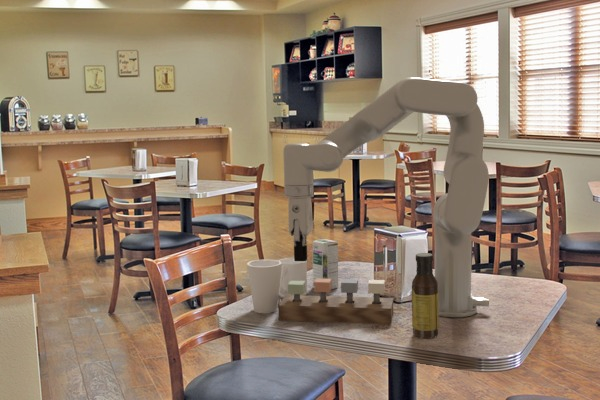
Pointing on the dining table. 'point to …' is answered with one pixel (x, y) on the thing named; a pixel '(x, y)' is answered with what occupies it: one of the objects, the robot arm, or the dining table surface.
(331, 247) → the syrup box
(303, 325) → the dining table surface
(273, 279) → the foam cup
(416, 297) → the sauce bottle
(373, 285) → the cream rectangular block
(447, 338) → the dining table surface
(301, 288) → the sage key
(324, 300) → the terracotta key
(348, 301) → the slate-grey key
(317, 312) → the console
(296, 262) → the mug
